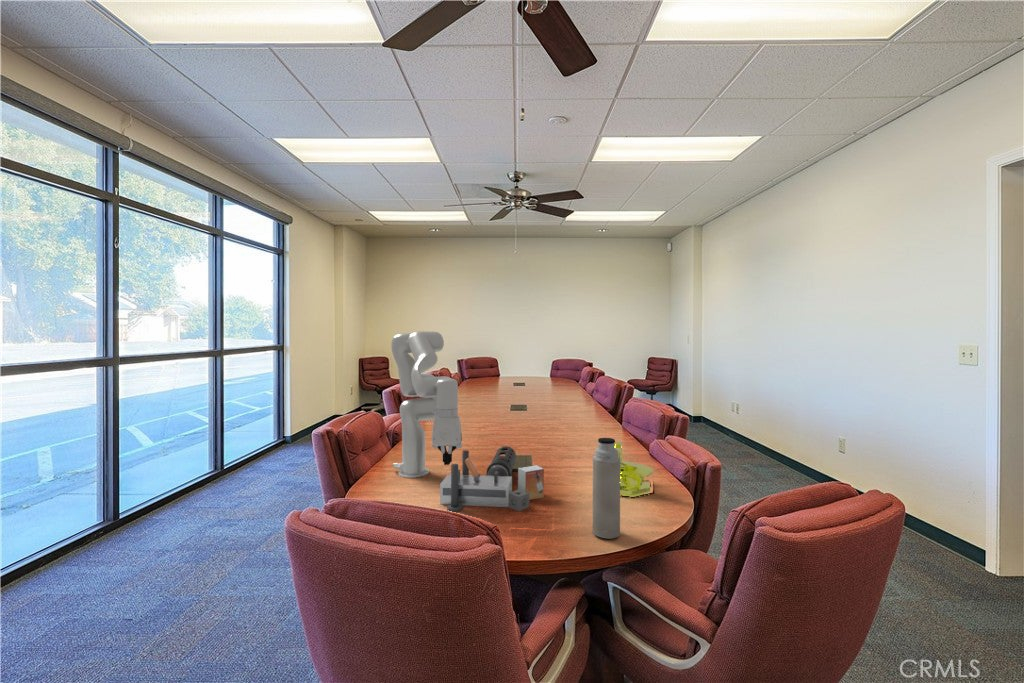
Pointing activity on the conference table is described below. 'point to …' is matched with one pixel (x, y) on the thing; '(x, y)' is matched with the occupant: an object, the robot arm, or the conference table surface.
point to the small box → (531, 481)
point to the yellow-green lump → (632, 476)
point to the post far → (464, 467)
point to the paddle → (472, 469)
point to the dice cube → (518, 500)
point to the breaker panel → (478, 490)
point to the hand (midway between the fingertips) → (447, 463)
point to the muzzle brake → (502, 462)
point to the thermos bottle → (606, 490)
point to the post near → (454, 490)
